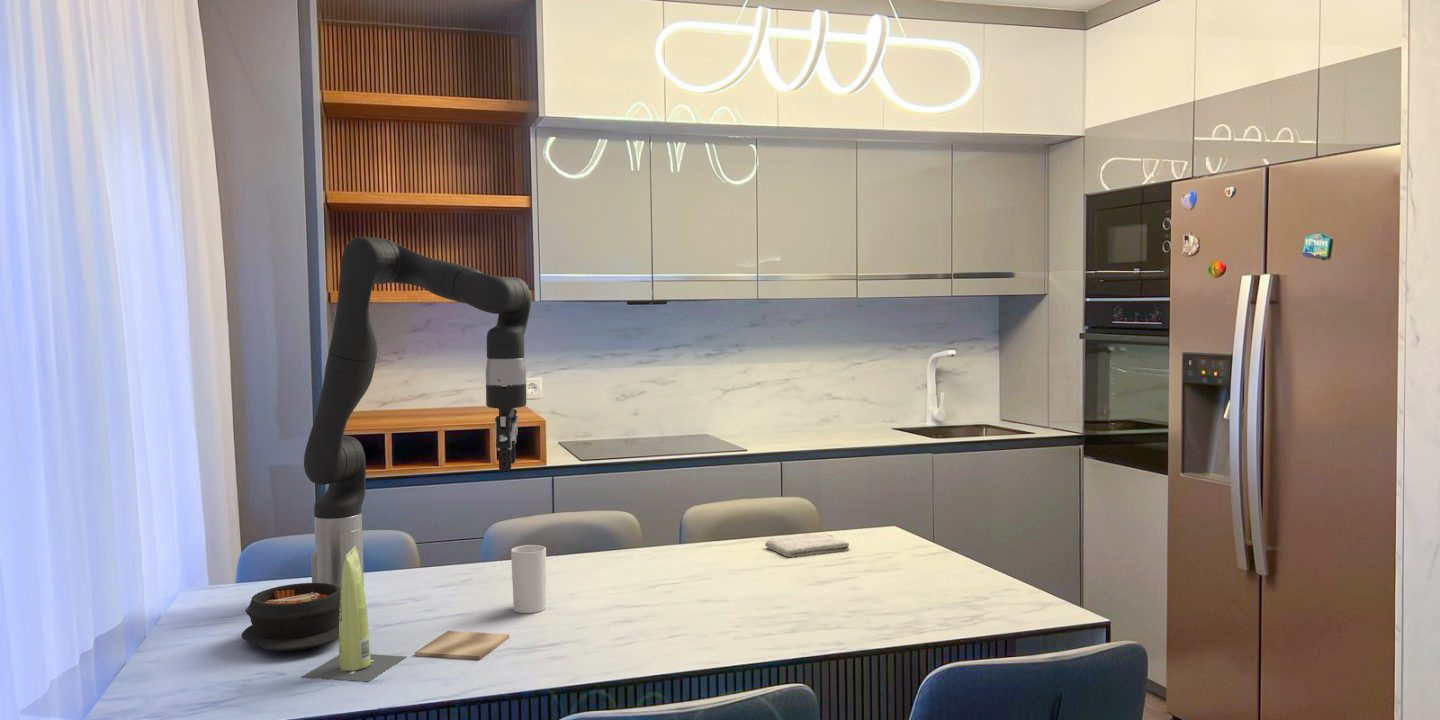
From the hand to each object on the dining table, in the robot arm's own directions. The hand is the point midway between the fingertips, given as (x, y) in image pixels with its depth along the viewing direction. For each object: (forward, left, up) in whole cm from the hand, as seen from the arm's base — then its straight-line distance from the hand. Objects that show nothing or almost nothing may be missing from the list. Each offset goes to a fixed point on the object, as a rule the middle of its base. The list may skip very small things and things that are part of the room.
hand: (507, 466), depth 197 cm
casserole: (-33, -19, -29) cm, 48 cm away
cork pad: (-1, -18, -29) cm, 34 cm away
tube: (-14, -31, -29) cm, 45 cm away
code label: (-14, -31, -30) cm, 45 cm away
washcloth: (+49, +65, -30) cm, 87 cm away
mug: (+1, +7, -29) cm, 30 cm away
